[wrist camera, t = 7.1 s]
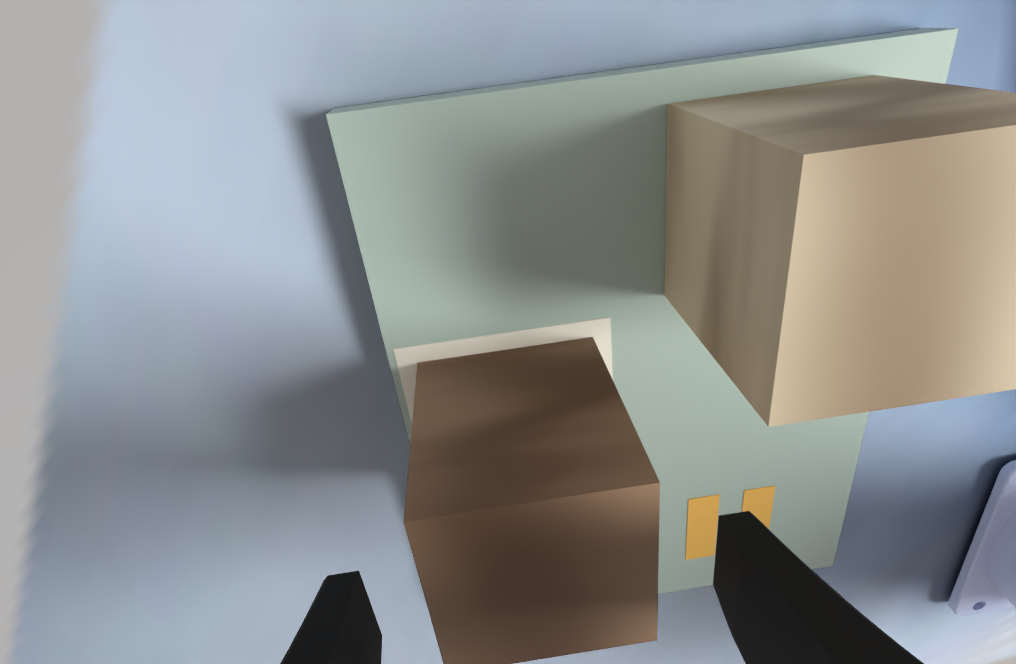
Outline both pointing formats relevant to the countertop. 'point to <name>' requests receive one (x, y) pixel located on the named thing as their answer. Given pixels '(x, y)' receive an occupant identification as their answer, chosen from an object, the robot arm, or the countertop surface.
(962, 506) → the countertop surface
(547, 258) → the board
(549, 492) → the walnut block
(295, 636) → the robot arm
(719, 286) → the oak block
